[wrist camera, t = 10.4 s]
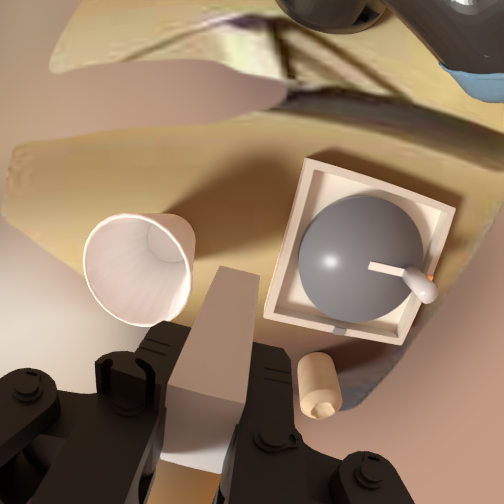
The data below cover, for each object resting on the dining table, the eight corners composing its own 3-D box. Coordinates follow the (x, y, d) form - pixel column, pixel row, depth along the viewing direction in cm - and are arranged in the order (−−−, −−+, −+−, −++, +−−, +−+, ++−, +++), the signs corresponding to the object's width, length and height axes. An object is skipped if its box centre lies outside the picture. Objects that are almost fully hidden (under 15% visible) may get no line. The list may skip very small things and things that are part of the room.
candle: (337, 353, 45) (350, 398, 36) (327, 381, 47) (336, 427, 37) (302, 349, 45) (307, 394, 36) (293, 377, 47) (296, 424, 37)
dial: (284, 303, 42) (286, 335, 34) (315, 180, 37) (326, 187, 29) (393, 323, 42) (412, 354, 34) (431, 213, 37) (463, 228, 29)
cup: (212, 191, 39) (186, 209, 28) (218, 282, 43) (198, 330, 31) (124, 196, 40) (73, 216, 28) (135, 281, 44) (95, 323, 32)
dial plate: (304, 157, 37) (308, 158, 34) (444, 203, 38) (457, 208, 34) (264, 306, 43) (263, 318, 40) (394, 333, 44) (402, 346, 40)
